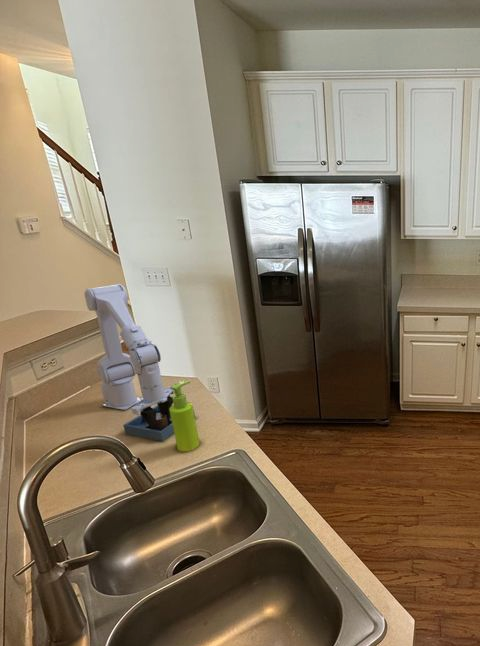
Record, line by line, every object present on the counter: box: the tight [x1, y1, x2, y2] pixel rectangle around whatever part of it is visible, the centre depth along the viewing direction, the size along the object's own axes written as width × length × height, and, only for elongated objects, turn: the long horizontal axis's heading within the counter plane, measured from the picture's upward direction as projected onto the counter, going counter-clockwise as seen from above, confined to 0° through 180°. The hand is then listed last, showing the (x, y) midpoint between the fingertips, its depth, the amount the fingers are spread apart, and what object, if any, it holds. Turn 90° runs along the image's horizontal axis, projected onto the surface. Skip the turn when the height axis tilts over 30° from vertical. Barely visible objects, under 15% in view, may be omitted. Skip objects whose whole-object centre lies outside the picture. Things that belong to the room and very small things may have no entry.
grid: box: [123, 404, 196, 442], centre depth 137 cm, size 14×14×3 cm
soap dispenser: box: [169, 380, 200, 452], centre depth 124 cm, size 6×7×20 cm
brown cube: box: [153, 413, 169, 431], centre depth 132 cm, size 4×4×4 cm
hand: (159, 423), depth 132 cm, fingers closed on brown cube, 4 cm apart
